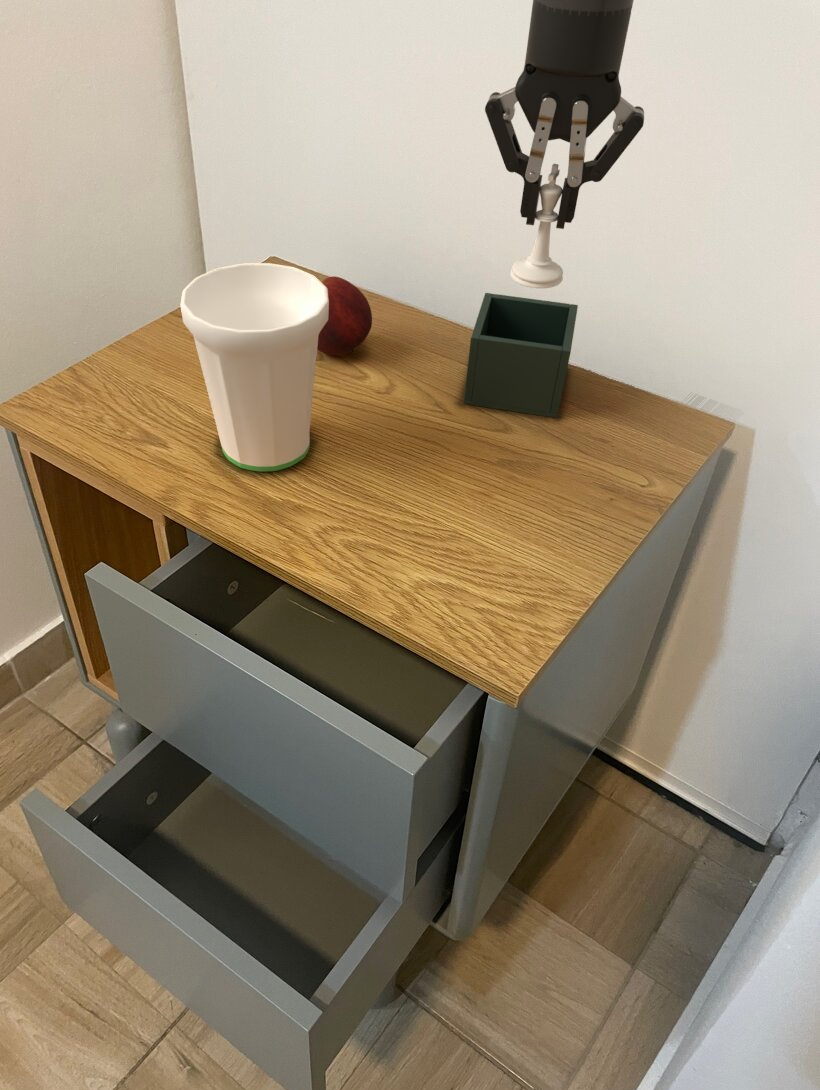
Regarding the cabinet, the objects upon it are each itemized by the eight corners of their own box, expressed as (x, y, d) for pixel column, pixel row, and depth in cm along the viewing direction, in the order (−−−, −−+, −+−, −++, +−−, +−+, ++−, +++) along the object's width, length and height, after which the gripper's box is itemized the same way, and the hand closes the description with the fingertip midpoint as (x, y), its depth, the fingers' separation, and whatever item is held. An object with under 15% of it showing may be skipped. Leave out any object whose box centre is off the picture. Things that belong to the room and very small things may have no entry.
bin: (564, 369, 95) (578, 304, 90) (557, 418, 89) (570, 351, 83) (477, 356, 97) (485, 292, 91) (463, 403, 90) (470, 337, 85)
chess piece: (502, 280, 82) (518, 168, 75) (521, 260, 85) (538, 150, 78) (552, 293, 80) (573, 179, 73) (569, 272, 83) (591, 161, 76)
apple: (326, 326, 101) (326, 258, 95) (384, 346, 98) (387, 277, 92) (289, 354, 96) (286, 284, 90) (349, 375, 93) (349, 305, 88)
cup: (176, 437, 85) (152, 287, 74) (282, 395, 90) (274, 249, 80) (247, 503, 78) (232, 348, 67) (357, 453, 84) (359, 302, 73)
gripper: (486, -2, 65) (463, 231, 78) (677, 14, 63) (622, 250, 75) (499, -23, 70) (476, 199, 83) (676, -9, 68) (625, 216, 81)
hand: (546, 222), depth 79 cm, fingers closed on chess piece
